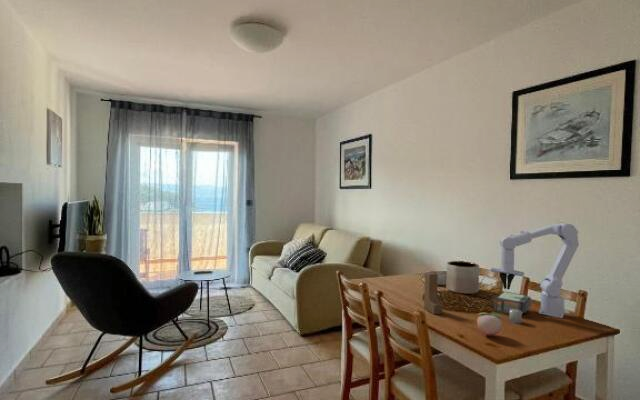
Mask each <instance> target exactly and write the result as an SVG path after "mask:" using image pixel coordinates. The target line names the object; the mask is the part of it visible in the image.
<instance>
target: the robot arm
mask: <svg viewBox="0 0 640 400" xmlns="http://www.w3.org/2000/svg"><path fill="white" fill-rule="evenodd" d="M578 234H579V231H578V230H577V228H576V227H575V226H574V225H573V224H572V223H565V222H557V223H551V224H549V225H546V226H543V227H540V228H538V229H535V230H533V231H526V230H519V232H517V233H515V234H509V236H503V237H502V238H501V239H500V241H499V244H500V246H501V252H500V268H499V267H498V268H497V267H491V268H490V273H497V274H499V278H500V279H501V281H502V285H503V289H504V290H510V289H511V285H512V282H513V280H514V278H515V276H518V277H521V278H523V277H525V272H524V271H520V270H515V248H516V247H519V246H523V245H525V244H529V243H531V242H532V240H533V239H536V238H540V237H544V236H547V235H557V236H558V237H559V238H560V240H561V241H562V243H563V245H562V247H561V249H560V251H559V253H558V255H557V258H556V260H555V262H554V264H553V266H552V268H551V270H550V272H549V273H548V274H547V275H545V277H544V279H542V280H541V281H540V283H539V287H540V289H541V290H542V291H541V292H540V293H541V294H540V309H539V310H538V314H539V315H545V316H551V317H554V318H560V319H563V318H564V315H565V313H566V311H565V303H566V302H565V297H564V296H560V295H561V293H562V286H563V278H564V276H565V274H566V271H567V269H568V268H569V265H570V263H572V260H573V258H574V255H575V253H576V251H577V249H578V247H579V244H580V243H579V236H578Z"/></svg>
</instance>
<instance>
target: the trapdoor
mask: <svg viewBox="0 0 640 400" xmlns="http://www.w3.org/2000/svg"><path fill="white" fill-rule="evenodd" d="M507 292H508V291H505V292H504V293H502V292H501V294H500V295H499V296H497V297H498V298H504V299H509V300H514V301H520V302H522V304H521V311H522V312H525V313H527V311H528V310H529V309H530V308H531V306H532V297H531V296H528V295H527V296H524V295H525V294H522V295H518V294H519V293H516V294H512V293H513V292H510V293H507Z"/></svg>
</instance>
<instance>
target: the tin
mask: <svg viewBox="0 0 640 400" xmlns="http://www.w3.org/2000/svg"><path fill="white" fill-rule="evenodd" d="M430 272H433V273H436V274H437V275H438V278H437V286H446V278H447V270H446V271H445V270H431V271H430Z"/></svg>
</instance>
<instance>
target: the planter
mask: <svg viewBox="0 0 640 400" xmlns="http://www.w3.org/2000/svg"><path fill="white" fill-rule="evenodd" d="M446 272H447V278H446V285H445V287H446V289H447V290H448V291H450V292H452V293H456V294H460V295H474V294H477V293H478V292H479V291H480V264H477V263H474V262H469V261H464V260H463V261H462V260H454V261H453V260H451V261H447V262H446Z"/></svg>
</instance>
